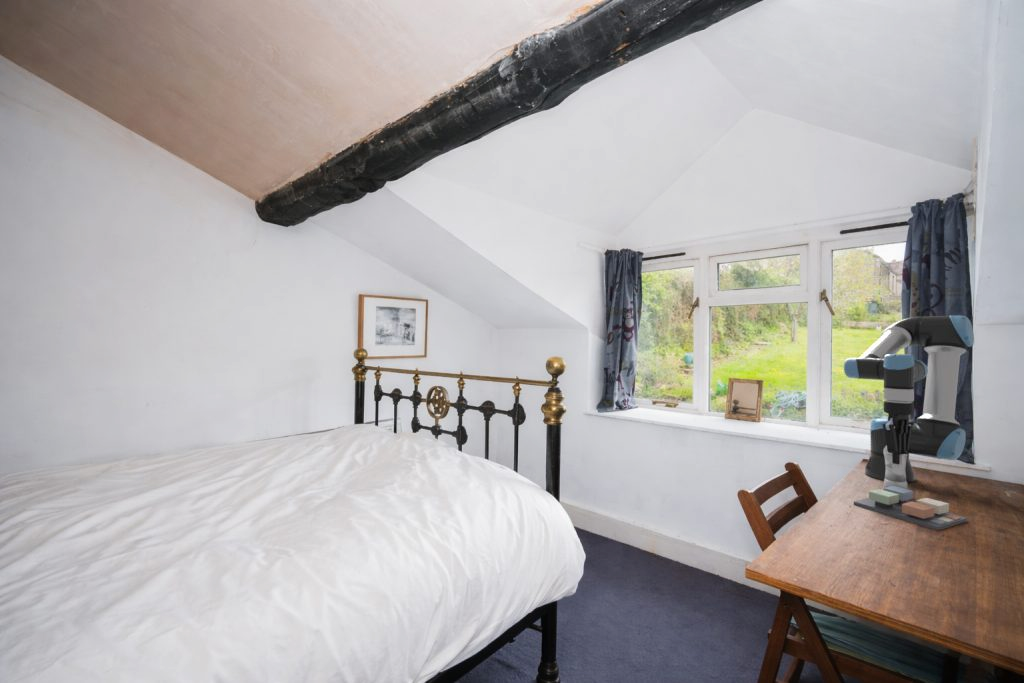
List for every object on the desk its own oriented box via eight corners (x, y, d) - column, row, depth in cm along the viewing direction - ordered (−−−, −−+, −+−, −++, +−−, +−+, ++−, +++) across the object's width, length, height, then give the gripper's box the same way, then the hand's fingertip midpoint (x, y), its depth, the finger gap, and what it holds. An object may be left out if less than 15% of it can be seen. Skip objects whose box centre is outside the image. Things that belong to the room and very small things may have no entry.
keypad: (882, 497, 155) (882, 488, 155) (967, 521, 135) (967, 511, 135) (853, 504, 149) (853, 495, 149) (937, 530, 129) (937, 520, 129)
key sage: (879, 496, 148) (879, 489, 148) (898, 502, 143) (898, 494, 143) (868, 499, 146) (868, 491, 146) (888, 504, 141) (888, 496, 141)
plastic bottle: (913, 496, 156) (913, 438, 156) (893, 496, 156) (893, 438, 156) (897, 490, 162) (897, 434, 162) (878, 490, 162) (878, 434, 162)
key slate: (893, 493, 151) (893, 485, 151) (913, 498, 146) (913, 490, 146) (883, 495, 149) (883, 488, 149) (903, 501, 144) (903, 493, 144)
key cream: (926, 505, 143) (926, 497, 143) (948, 511, 138) (948, 503, 138) (916, 508, 141) (916, 500, 141) (939, 514, 136) (939, 506, 136)
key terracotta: (912, 509, 140) (912, 501, 140) (934, 515, 135) (934, 507, 135) (901, 512, 138) (901, 504, 138) (924, 518, 133) (924, 510, 133)
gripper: (896, 399, 153) (896, 468, 154) (873, 401, 148) (873, 472, 148) (923, 401, 147) (923, 474, 147) (900, 404, 141) (900, 479, 141)
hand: (898, 473), depth 148 cm, fingers closed
